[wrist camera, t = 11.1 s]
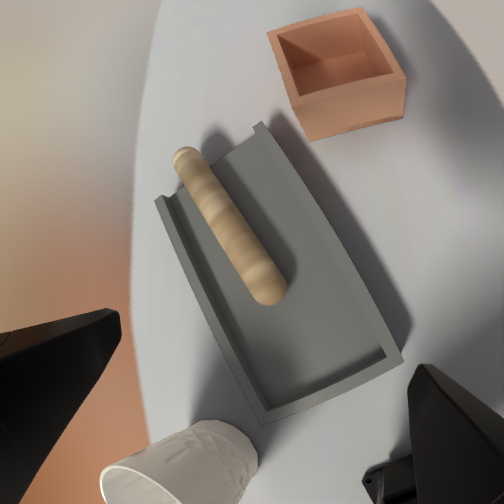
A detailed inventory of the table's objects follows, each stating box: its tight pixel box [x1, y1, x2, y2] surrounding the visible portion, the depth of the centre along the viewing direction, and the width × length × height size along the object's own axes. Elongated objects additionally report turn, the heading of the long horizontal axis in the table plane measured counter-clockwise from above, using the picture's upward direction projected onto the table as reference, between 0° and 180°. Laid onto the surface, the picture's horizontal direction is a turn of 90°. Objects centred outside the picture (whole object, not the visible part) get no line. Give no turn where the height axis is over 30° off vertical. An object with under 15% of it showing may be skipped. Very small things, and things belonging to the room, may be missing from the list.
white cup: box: [100, 420, 258, 504], centre depth 17 cm, size 8×8×10 cm
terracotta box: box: [267, 7, 407, 142], centre depth 18 cm, size 7×7×5 cm
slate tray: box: [154, 121, 404, 426], centre depth 20 cm, size 18×10×2 cm, turn 29°
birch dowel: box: [173, 147, 287, 306], centre depth 20 cm, size 6×2×12 cm
